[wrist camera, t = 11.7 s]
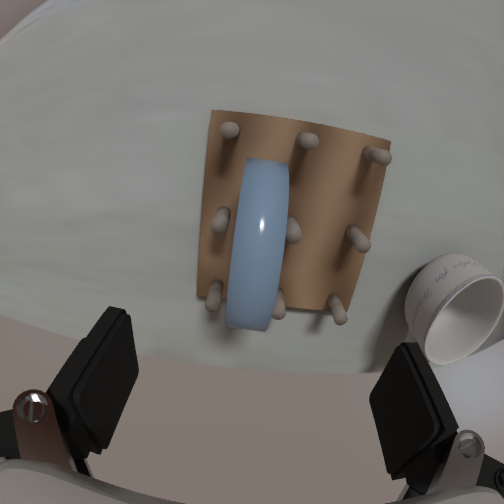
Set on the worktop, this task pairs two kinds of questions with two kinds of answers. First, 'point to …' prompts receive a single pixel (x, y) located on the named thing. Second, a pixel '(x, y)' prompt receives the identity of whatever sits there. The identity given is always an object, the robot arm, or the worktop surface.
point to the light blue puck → (258, 244)
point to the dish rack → (294, 206)
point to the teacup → (452, 308)
